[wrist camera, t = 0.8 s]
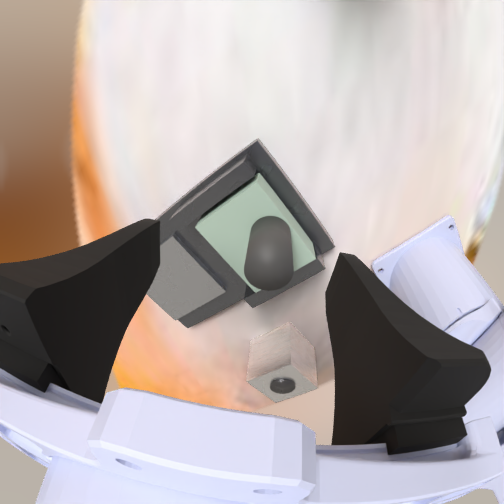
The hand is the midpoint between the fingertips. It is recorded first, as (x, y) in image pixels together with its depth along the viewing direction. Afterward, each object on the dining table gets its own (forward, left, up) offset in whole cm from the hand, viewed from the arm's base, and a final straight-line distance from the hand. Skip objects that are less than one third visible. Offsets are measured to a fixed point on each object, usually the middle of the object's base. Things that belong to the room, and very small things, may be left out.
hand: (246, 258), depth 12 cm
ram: (-2, +2, -8) cm, 8 cm away
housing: (-14, +8, -10) cm, 19 cm away
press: (-2, +6, -10) cm, 11 cm away
